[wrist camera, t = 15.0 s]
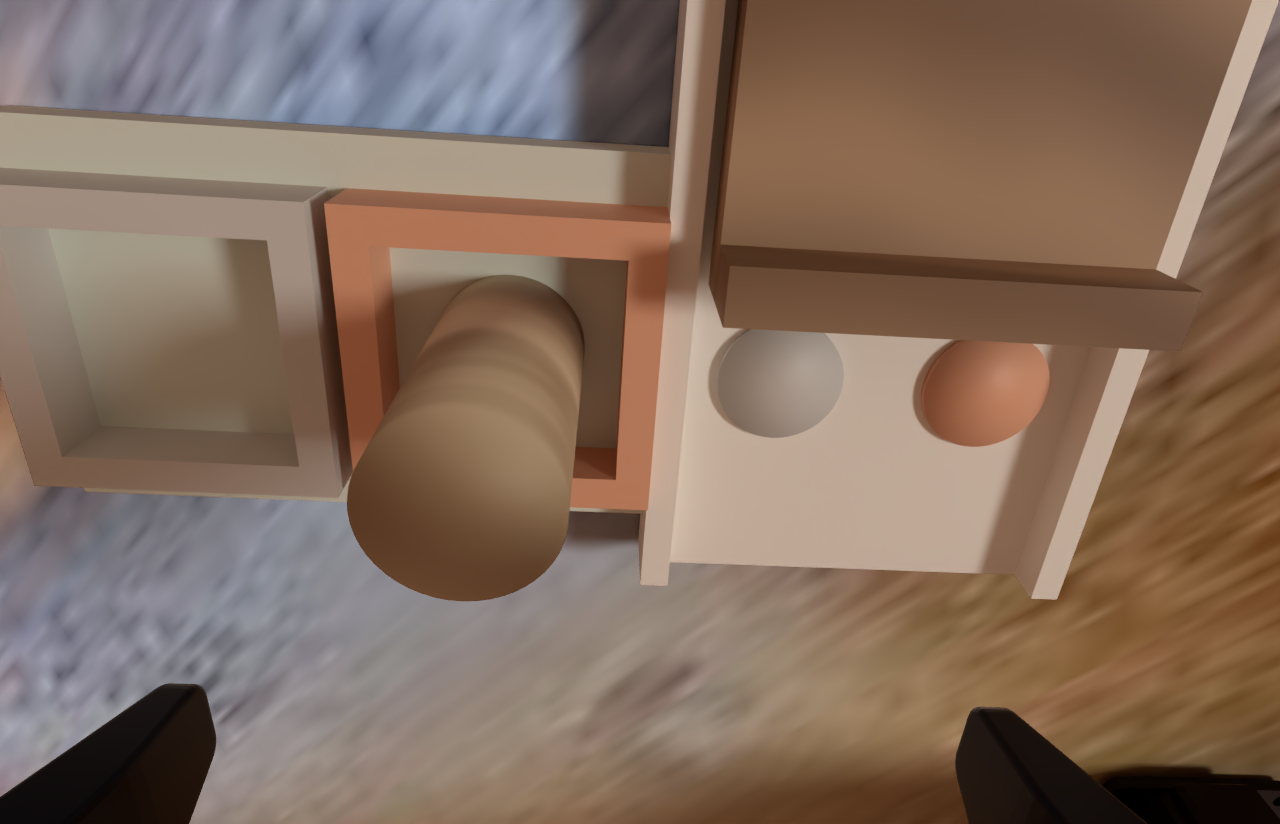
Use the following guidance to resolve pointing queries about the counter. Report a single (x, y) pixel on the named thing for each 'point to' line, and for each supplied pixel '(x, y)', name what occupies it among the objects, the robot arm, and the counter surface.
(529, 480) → the peg
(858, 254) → the lid
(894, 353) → the housing base
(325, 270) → the board
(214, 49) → the counter surface
